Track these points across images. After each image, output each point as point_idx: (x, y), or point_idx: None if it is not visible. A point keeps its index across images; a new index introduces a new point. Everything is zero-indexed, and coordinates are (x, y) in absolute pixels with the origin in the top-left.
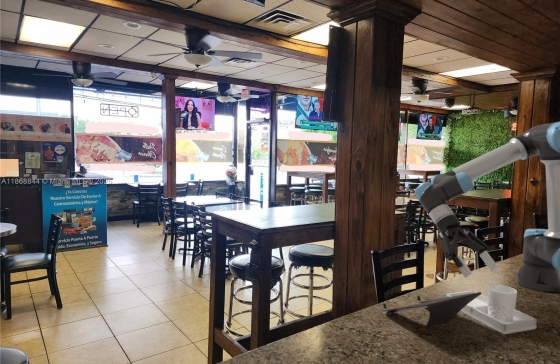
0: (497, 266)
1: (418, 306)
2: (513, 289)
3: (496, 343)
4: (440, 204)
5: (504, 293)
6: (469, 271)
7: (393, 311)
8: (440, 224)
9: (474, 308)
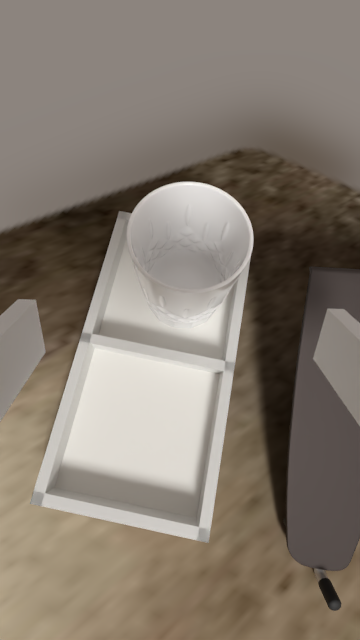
0: (17, 303)
1: None
2: (137, 213)
3: (312, 236)
4: None
5: (236, 201)
6: (349, 317)
7: None
8: None
9: (230, 357)
